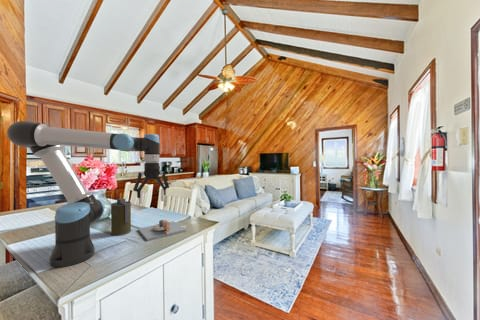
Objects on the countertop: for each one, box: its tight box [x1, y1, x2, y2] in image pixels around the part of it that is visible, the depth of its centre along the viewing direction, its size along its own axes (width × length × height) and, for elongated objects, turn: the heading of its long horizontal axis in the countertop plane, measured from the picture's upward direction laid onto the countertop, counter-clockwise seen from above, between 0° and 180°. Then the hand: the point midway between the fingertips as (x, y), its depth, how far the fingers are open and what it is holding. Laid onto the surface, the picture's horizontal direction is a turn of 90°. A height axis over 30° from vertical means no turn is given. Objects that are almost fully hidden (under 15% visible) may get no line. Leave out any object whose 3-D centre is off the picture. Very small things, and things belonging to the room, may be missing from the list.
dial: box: [152, 219, 171, 232], centre depth 118 cm, size 15×10×6 cm, turn 40°
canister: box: [110, 197, 132, 237], centre depth 117 cm, size 11×10×20 cm
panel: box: [137, 221, 187, 242], centre depth 120 cm, size 24×20×2 cm
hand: (151, 202), depth 108 cm, fingers open, 11 cm apart
